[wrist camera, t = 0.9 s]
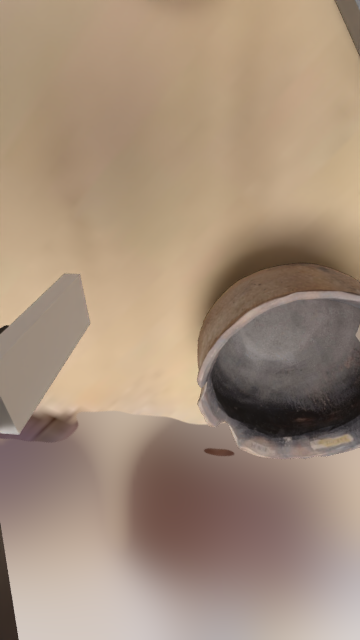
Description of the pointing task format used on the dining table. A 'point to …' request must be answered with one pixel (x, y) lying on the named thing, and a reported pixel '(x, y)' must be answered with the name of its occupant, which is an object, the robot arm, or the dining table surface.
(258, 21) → the dining table surface
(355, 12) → the cup tray
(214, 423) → the ceramic bowl
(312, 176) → the dining table surface
